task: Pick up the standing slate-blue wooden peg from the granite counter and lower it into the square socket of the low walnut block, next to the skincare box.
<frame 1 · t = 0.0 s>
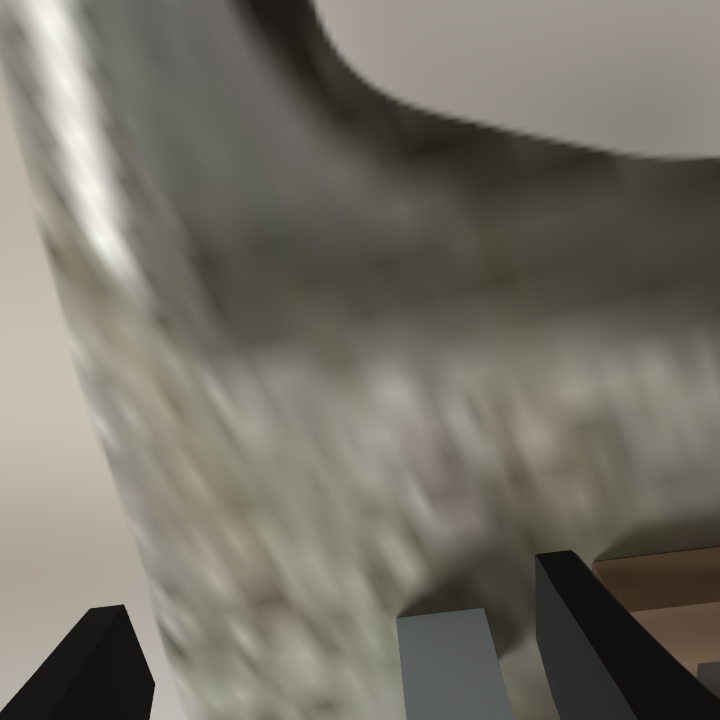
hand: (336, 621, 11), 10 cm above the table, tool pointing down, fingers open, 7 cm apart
peg: (442, 643, 26), on the table
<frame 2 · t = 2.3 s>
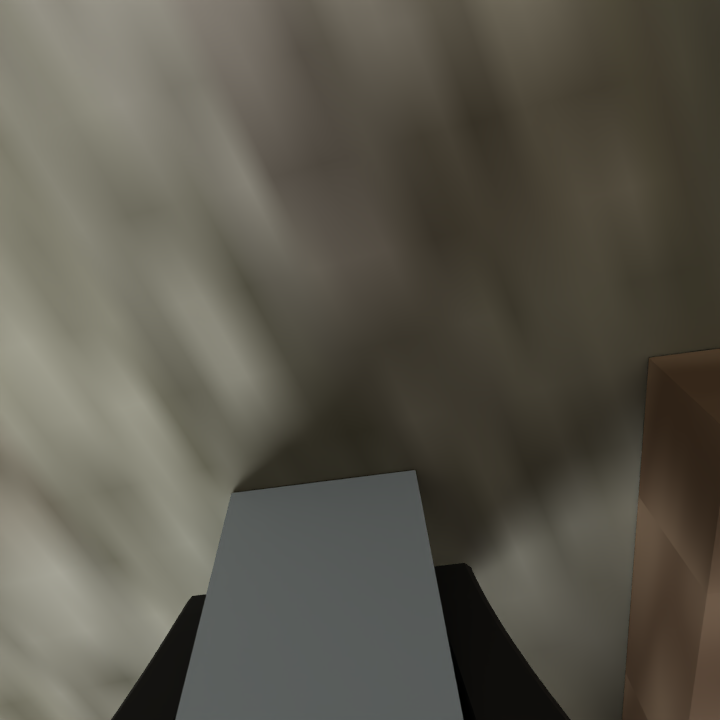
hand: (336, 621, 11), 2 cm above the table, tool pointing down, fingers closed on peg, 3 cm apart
peg: (336, 552, 13), on the table, touching gripper
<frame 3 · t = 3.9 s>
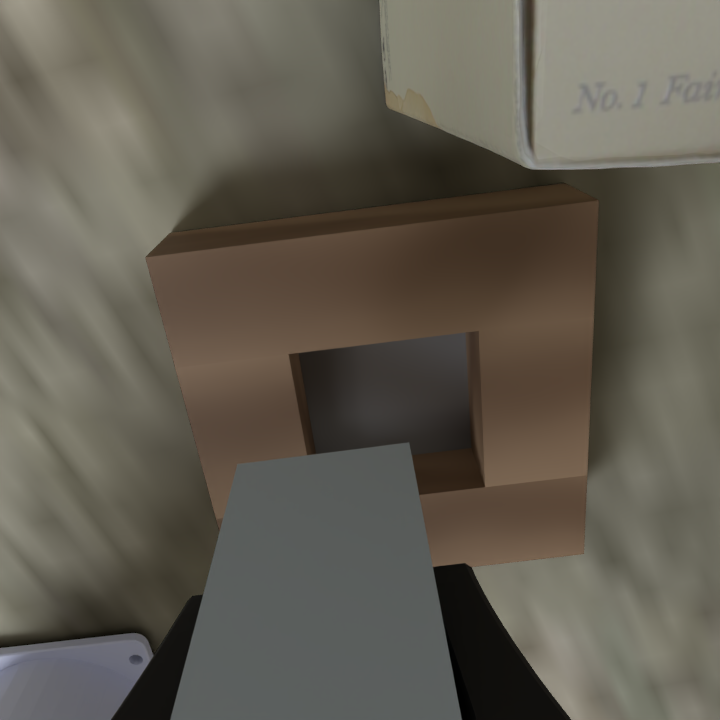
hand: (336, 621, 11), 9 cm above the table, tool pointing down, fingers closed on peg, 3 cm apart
skincare box: (504, 4, 16), on the table
walnut socket block: (386, 383, 20), on the table
peg: (335, 522, 13), point 7 cm above the table, touching gripper
when the fingers open (4 cm above the table, at t = 5.5 s): peg stays where it is, resting on walnut socket block.
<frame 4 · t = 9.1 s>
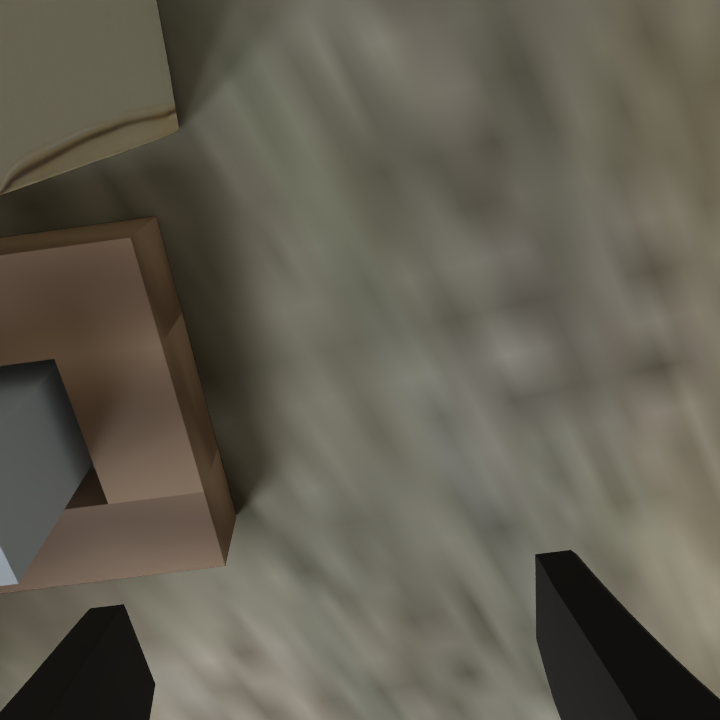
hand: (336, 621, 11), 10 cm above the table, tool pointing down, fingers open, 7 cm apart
skincare box: (57, 52, 17), on the table
walnut socket block: (36, 404, 21), on the table
peg: (31, 411, 20), resting on walnut socket block
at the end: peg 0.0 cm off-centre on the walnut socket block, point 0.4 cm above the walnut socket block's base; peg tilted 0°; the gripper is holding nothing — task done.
